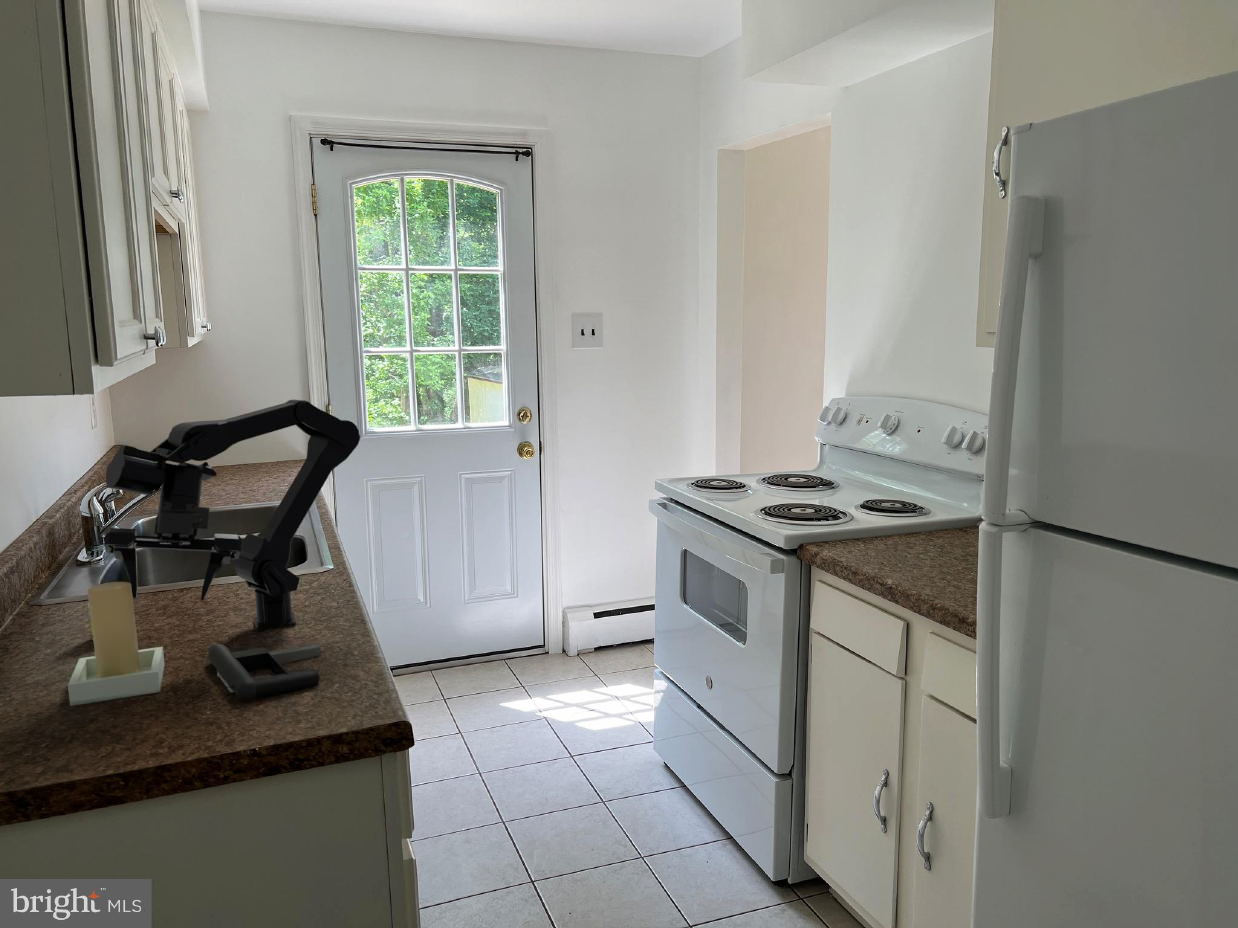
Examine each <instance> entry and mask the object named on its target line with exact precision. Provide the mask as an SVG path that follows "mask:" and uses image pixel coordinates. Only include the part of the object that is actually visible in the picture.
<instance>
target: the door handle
mask: <svg viewBox="0 0 1238 928" xmlns="http://www.w3.org/2000/svg"><path fill="white" fill-rule="evenodd" d="M317 656H318V657H319V656H321V646H320V645H319V644H310V645H304V646H298V647H291V648H286V649H285V648H284V649H279V650H273V651H268V649H266V647H263V646H262V647H259V648H252V649H245V650H240V651H231V650H230V649H229V648H228V647H227V646H225V645H224V644H221V643H215V644H213V645H211V647H210V648H209V650H208V656H203V657H202V658H203V659H205V658H208V659H209V661H210V663H211V664H212V665H213V667H215V669H216V670H217V671H216V673H217V674H216V676H217V677H218V678H219V679H220V681H222V683H223V684H224V685H225V687H226V689H227V690H228V691H229V692H230V693H227V694H226V695H227V696H228V695H236V697H237V698H238V699H239V700H240V701H242V702H244V703H247V702H251V701H254V700H256V698H260V697H261V698H262V697H265V696H272V695H276V694H283V693H288V692H293V691H297V690H302V689H303V690H304V689H308V688H313V687H315V686H317V685H318V684H319V683H320V680H321V677H320V674H319V672H318V671H317V670H315V669H313V668H308V669H303V670H296V671H290V672H288V670H287V669H286V668H284V667H283V666H282V664H287V663H291V662H295V661H299V660H305V659H309V658H313V657H314V658H315V657H317ZM266 669H268V670H269V671H270V672H271V673H272V674H273V675H270V674H267V675H265V676H262V677H256V678H254V677H253V676H252V675H251V674H250V673H253V672H258V671H261V670H266Z"/></svg>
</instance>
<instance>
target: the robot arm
mask: <svg viewBox="0 0 1238 928" xmlns="http://www.w3.org/2000/svg"><path fill="white" fill-rule="evenodd" d="M292 426H293V427H294V426H295V427H297V428H298V429H299V430H301V431H302V432H303V433H305V434H306V435H308V436H309V438H308V442H307V449H306V457H305V458H306V459H305V460H304V462H303V464H302V465H301V466H300V469H299V470H298V473H297V474H296V475H295V478H294V479H293V481H292V482H291V484H290V486H289V488H288V489H287V491H286V493H285V495H284V496H283V498H282V499H281V501H280V503H279V504H278V506H277V507H276V509H275V511H274V513H273V515H272V516H271V518H270V520H269V522H268V523H267V525H266V526H265V527H264V529H263V530H261V531H260V532H259V533H258V534H253V533H250V532H248V533H247V534H246V535H245V537H244V539H243V540H242V537H241V536H240V535H239V534H230V533H229V534H228V533H215V534H214V538H213V539H208V538H206V539H205V538H197V536H198V529H201V530H202V529H203V530H207V529H208V527H209V526H208V524H209V515H210V507H203V506H201V505H200V504H201V496H202V494H201V493H202V486H203V485H202V484H203V481H204V482H205V481H208V480H210V479H212V478H214V477H216V476H217V474H218V473H217V472H216V471H215V470H214V468H212V466H210V465H209V463H208V462H207V461H208V460H210V459H212V458H214V457H216V456H218V455H220V454H222V453H225V452H226V451H227V450H229V449H230V448H231V447H232V446H233V445H235V444H238V443H240V442H243V441H246V440H249V439H253V438H256V437H259V436H263V435H266V434H270V433H272V432H277V431H280V430H283V429H286V428H290V427H292ZM360 441H361V435H360V430H359V429H358V427H357V425H356V424H355V423H354V422H352V421H351V420H346V419H340V418H338V417H336V416H335V415H332V414H330V413H329V412H326V411H324V410H323V409H320V408H318V407H317V406H315V405H314V404H312V403H311V402H310V401H308V400H304V399H289V400H287V401H286V402H284V403H280V404H275V405H273V406H268V407H265V408H262V409H258V410H254V411H251V412H246V413H244V414H239V415H236V416H233V417H229V418H226V419H217V420H216V419H214V420H199V421H197V420H196V421H189V422H186V421H185V422H181V423H177V424H176V425H174V426H173V427H171V430H170V432H169V433H168V437H167V438H166V439H164V440H163V441H162V442H160V443H159V444H158V445H157V446H156V447H154V448H153V449H151V450H150V451H147V450H142V449H139V448H137V447H135V446H131V445H126V444H120V445H119V448H118V451H117V453H115V454H114V456H113V457H112V458H111V462H110V463H108V465H107V468H106V473H105V482H106V486H107V488H108V489H113V490H118V491H122V492H123V491H124V492H129V493H135V494H138V495H139V494H140V495H145V496H150V495H151V494H153V493H154V491H156V492H158V491H159V490H160V491H159V492H160V495H159V501H158V502H159V503H158V509H157V511H158V512H157V515H156V517H155V525H154V535H153V536H149V535H138V534H137V533H138V532H137V529H136V528H125V527H124V528H122V527H110V528H108V529H107V530H106V531H105V534H104V535H105V536H104V541H103V542H104V543H103V547H104V550H105V553H107V554H110V555H111V554H113V556H114V559H115V560H121V561H122V562H123V565H124V567H125V571H126V573H127V576H128V581H129V583H131V589H132V598H133V600H136V599H137V597H138V555H137V549H148V550H149V549H150V550H168V551H170V550H171V551H172V550H173V551H191V552H210V556H209V561H208V564H207V568H206V572H205V575H204V576H205V577H204V580H203V583H202V584H203V585H202V588H201V593H200V594H201V595H200V601H201V602H202V601H203V602H204V600H205V598H206V596H207V593H208V591H209V590H210V587H211V585H212V583H213V580H214V578H216V575H217V574H218V572H219V570H220V569H221V567H222V565H229V564H230V562H231V560H234V563H233V564H234V565H233V566H234V570H235V572H236V574H237V576H238V577H239V578H241V579H242V580H244V582H245V583H246V585H247V587H248V588H249V589H254V599H255V608H256V609H255V610H256V617H254V618H253V619H254V628H255V629H254V630H255V631H263V630H264V631H265V630H271V629H277V628H284V627H291V626H292V627H294V626H296V625H297V622H296V618H295V613H294V612H293V610H292V597H291V592H296V591H297V590H298V587H299V582H300V577H299V576H297V575H296V574H294V573H293V572H292V571H290V570H289V569H288V568H287V565H288V563H289V561H290V556H291V544H292V540H293V538H294V537H295V535H296V533H297V532H298V529H300V526H301V525H302V523H303V521H304V519H305V518H306V516H307V514H308V512H309V510H310V509H311V507H312V505H313V504H314V502H315V500H316V498H317V497H318V495H319V493H320V491H322V488H323V486H324V485H325V483H326V482H327V479H328V478H329V476H330V474H331V472H332V471H333V470H334V469H336V468H337V467H338V466H340V465H341V464H342V463H343V462H344V461H346V460H347V459H348V458H349V457H350V455H351V454H352V453H353V452H354V451H355V450H356V448H357V447H358V445H359V443H360ZM190 461H196V462H202V463H200V464H193V463H190ZM203 461H205V462H203ZM168 462H171V463H168ZM174 463H177V464H174ZM242 541H243V542H242Z"/></svg>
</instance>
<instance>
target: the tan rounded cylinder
mask: <svg viewBox="0 0 1238 928" xmlns="http://www.w3.org/2000/svg"><path fill="white" fill-rule="evenodd" d="M87 597H88V603H89V607H90V615H91V624H92V633H93V648H94V649H93V650H94V656H95V658H96V667H97V675H98V678H103V677H110V676H117V675H123V674H130V673H137V672H140V662H139V653H138V650H139V645H138V637H137V636H138V635H137V625H136V618H135V607H134V599H133V595H132V589H131V583H130V581H129V582H128V581H112V582H105V583H100V584H96V585H93V586H91V587H89V588H88V589H87Z"/></svg>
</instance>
